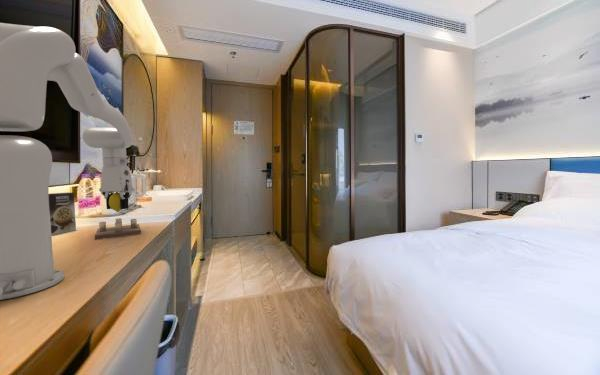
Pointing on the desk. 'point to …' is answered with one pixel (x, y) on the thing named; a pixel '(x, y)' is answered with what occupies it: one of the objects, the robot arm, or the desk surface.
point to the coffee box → (62, 213)
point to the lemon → (115, 201)
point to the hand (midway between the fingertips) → (117, 208)
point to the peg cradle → (117, 229)
